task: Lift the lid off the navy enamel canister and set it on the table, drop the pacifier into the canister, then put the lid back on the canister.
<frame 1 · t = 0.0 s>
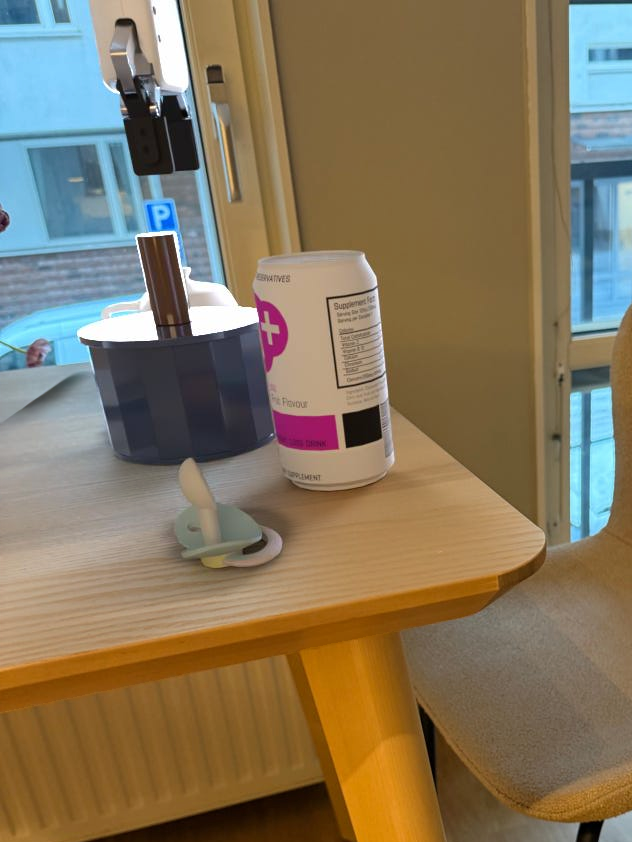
hand: (169, 172, 79), 20 cm above the table, tool pointing down, fingers open, 9 cm apart
lid: (175, 330, 74), point 9 cm above the table, touching canister
teapot: (203, 362, 108), on the table
pacifier: (234, 558, 56), on the table
canister: (197, 439, 79), on the table
supplement can: (340, 477, 68), on the table
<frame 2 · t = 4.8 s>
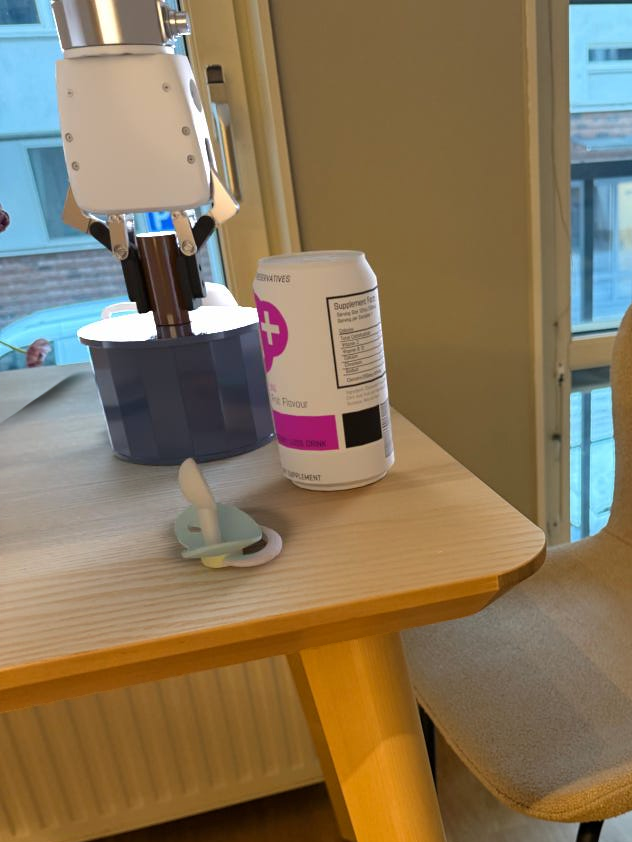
hand: (170, 307, 73), 11 cm above the table, tool pointing down, fingers closed on lid, 3 cm apart
lid: (175, 330, 74), point 9 cm above the table, touching canister, gripper
everything else where it was.
when the fingers open (2 cm above the table, at t = 12.2 s): lid stays where it is, point 1 cm above the table.
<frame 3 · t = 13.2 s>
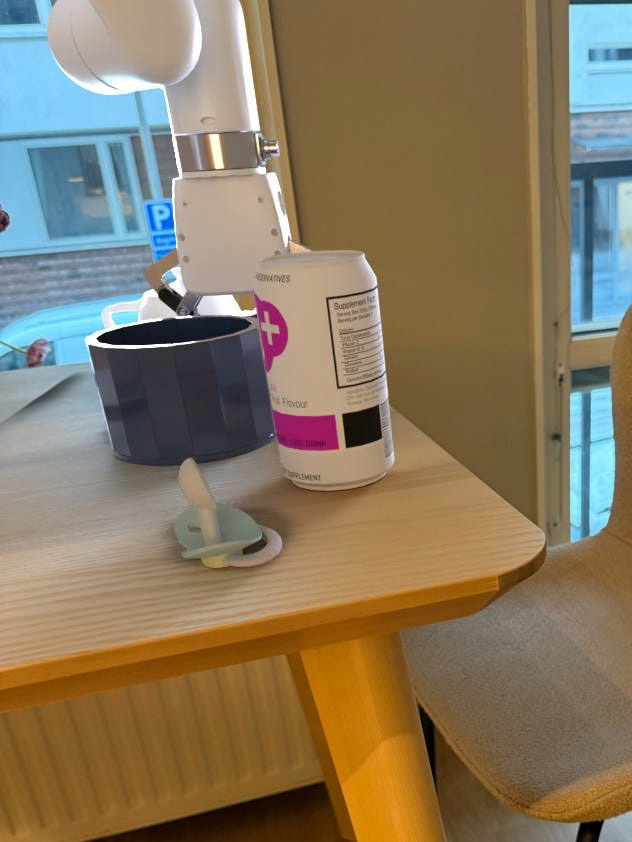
hand: (252, 356, 90), 4 cm above the table, tool pointing down, fingers open, 9 cm apart
lid: (259, 388, 92), point 1 cm above the table
everything else where it was.
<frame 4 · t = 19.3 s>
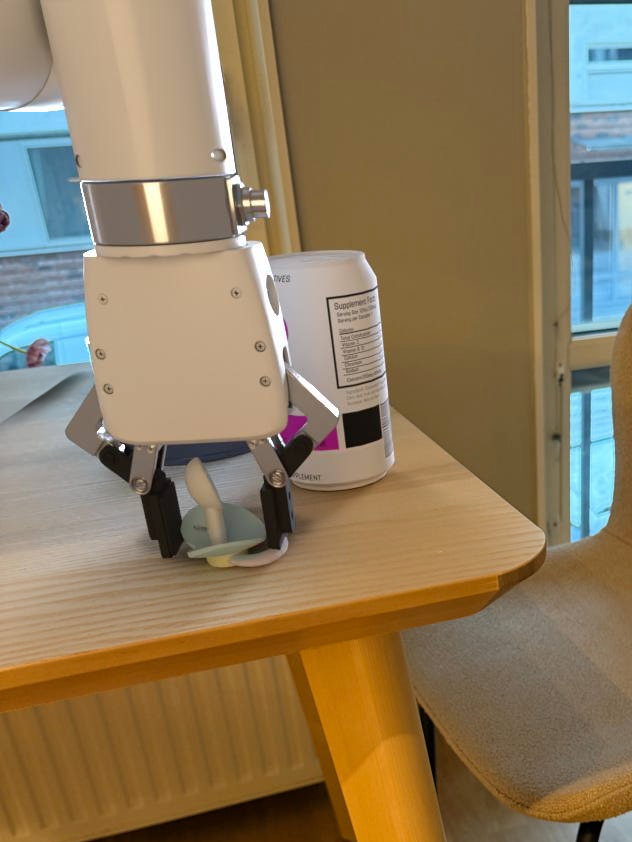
hand: (226, 544, 56), 1 cm above the table, tool pointing down, fingers closed on pacifier, 5 cm apart
pacifier: (239, 558, 56), on the table, touching gripper
everything else where it was.
when the fingers open (9 cm above the table, at t = 25.6 s): pacifier drops 8 cm, resting on canister.
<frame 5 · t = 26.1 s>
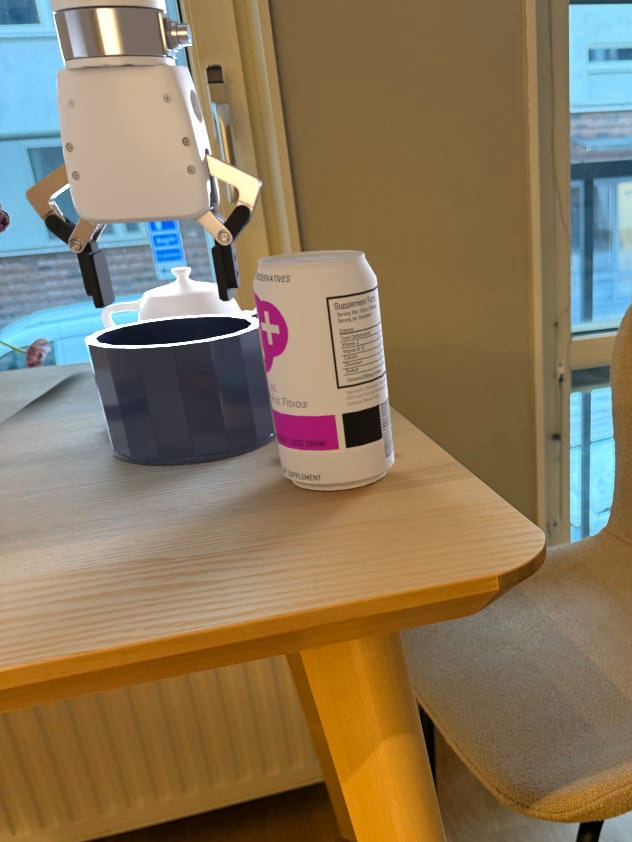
hand: (167, 302, 73), 11 cm above the table, tool pointing down, fingers open, 9 cm apart
pacifier: (198, 437, 78), resting on canister
everything else where it was.
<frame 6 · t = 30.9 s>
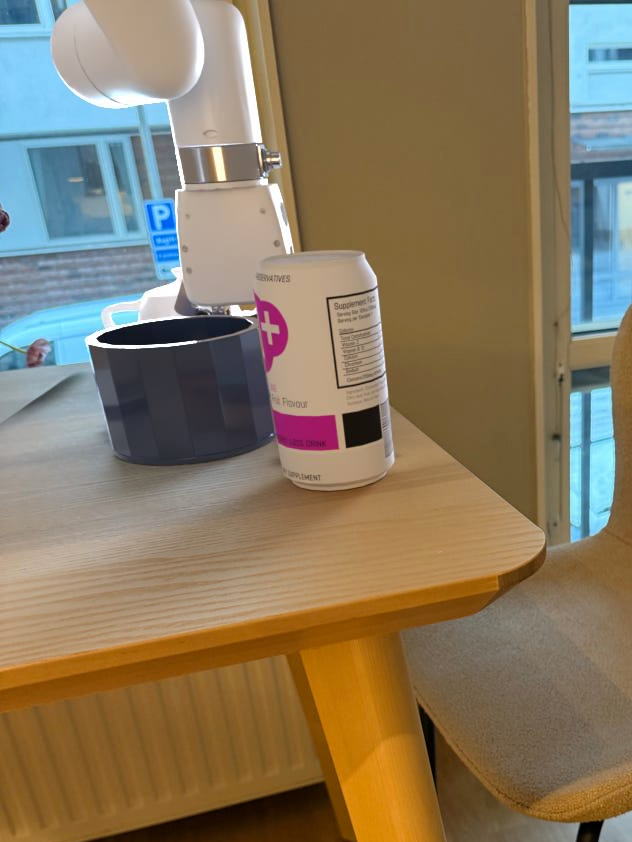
hand: (257, 376, 91), 2 cm above the table, tool pointing down, fingers closed on lid, 3 cm apart
lid: (259, 388, 92), point 1 cm above the table, touching gripper
everything else where it was.
when the fingers open (10 cm above the table, at t = 38.6 s): lid stays where it is, resting on canister.
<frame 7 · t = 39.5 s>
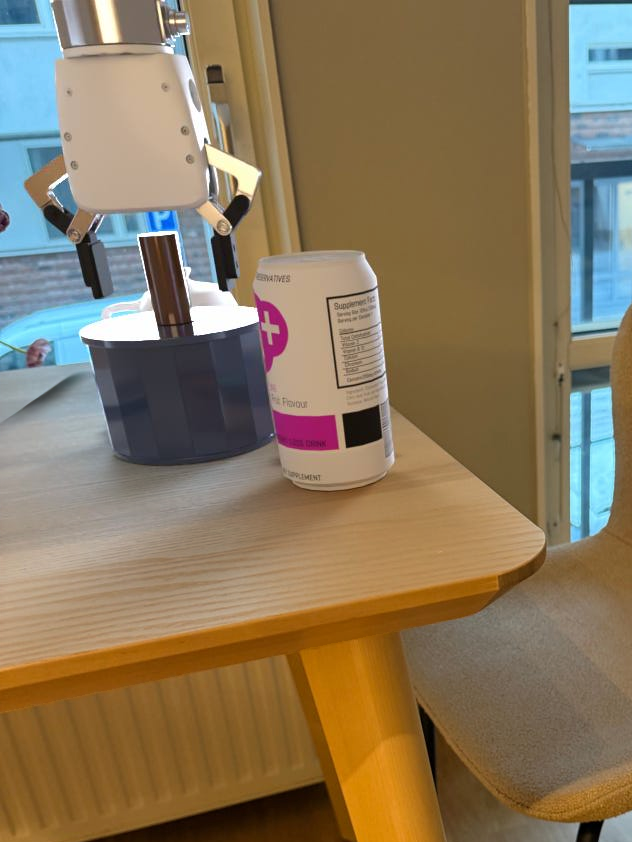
hand: (166, 293, 73), 12 cm above the table, tool pointing down, fingers open, 9 cm apart
lid: (176, 329, 74), point 9 cm above the table, touching canister
everything else where it was.
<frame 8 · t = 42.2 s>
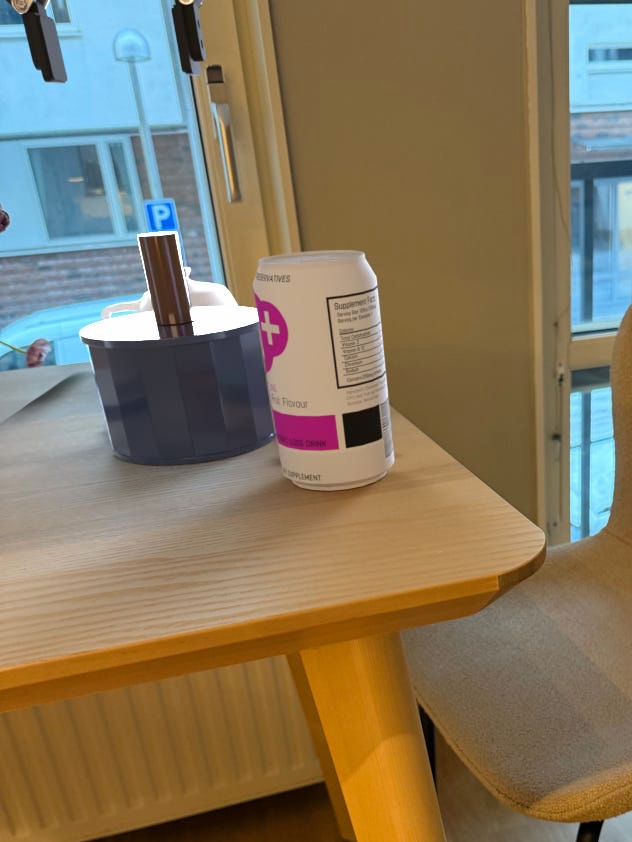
hand: (124, 78, 66), 26 cm above the table, tool pointing down, fingers open, 9 cm apart
nothing on the table moved.
at the end: lid 0.1 cm off-centre on the canister, point 9.0 cm above the canister's base; lid tilted 0°; pacifier inside the target area in the canister (0.4 cm from its centre), point 0.3 cm above the canister's base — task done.
